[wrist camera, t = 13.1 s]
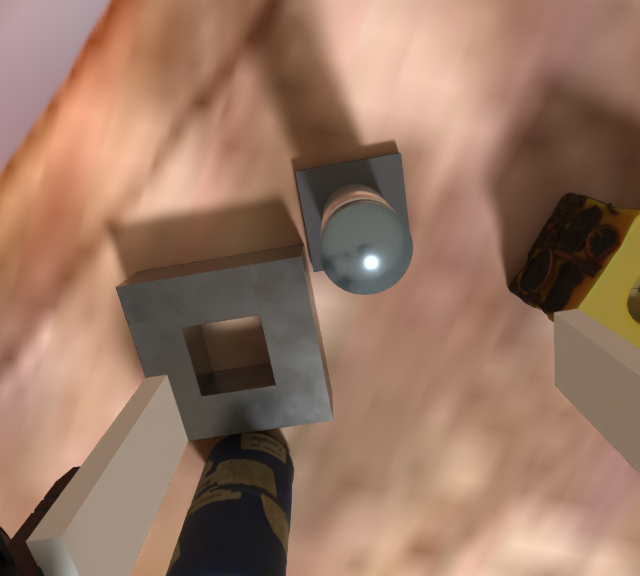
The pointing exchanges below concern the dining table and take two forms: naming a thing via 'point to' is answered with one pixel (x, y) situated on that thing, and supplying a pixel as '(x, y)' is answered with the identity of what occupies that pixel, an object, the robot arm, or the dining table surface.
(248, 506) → the canister
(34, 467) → the dining table surface
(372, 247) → the silver metal cylinder
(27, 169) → the dining table surface
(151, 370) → the housing
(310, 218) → the coaster
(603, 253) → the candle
